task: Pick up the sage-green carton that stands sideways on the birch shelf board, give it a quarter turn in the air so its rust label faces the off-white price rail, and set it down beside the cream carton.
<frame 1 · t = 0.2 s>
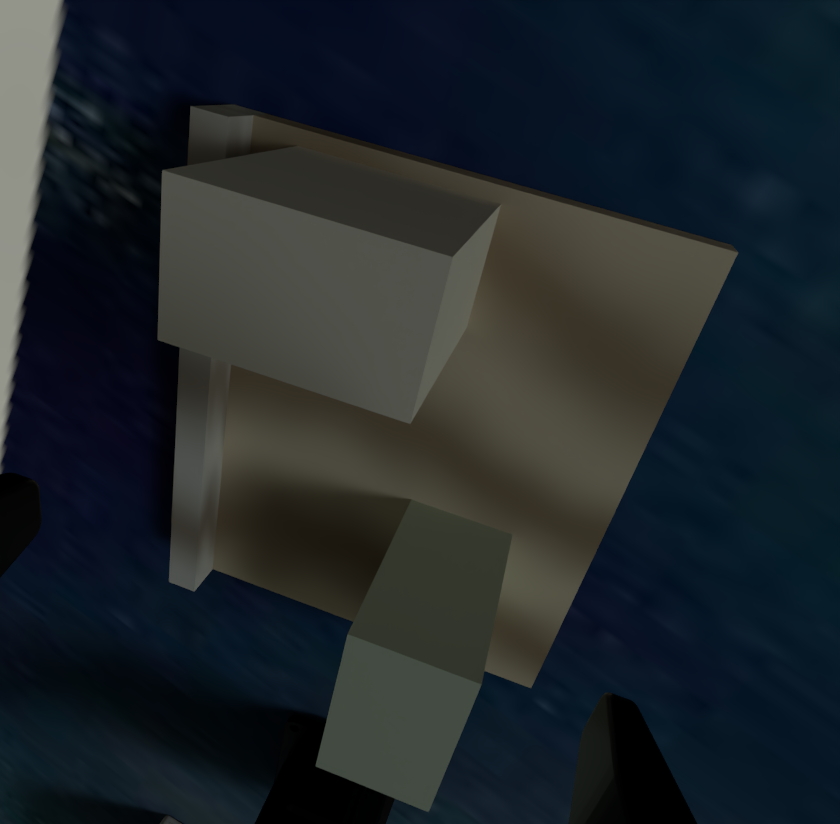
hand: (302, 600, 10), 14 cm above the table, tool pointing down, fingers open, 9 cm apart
shelf: (406, 429, 24), on the table
sage carton: (441, 579, 26), point 1 cm above the table, touching shelf
cream carton: (384, 239, 20), point 1 cm above the table, touching shelf
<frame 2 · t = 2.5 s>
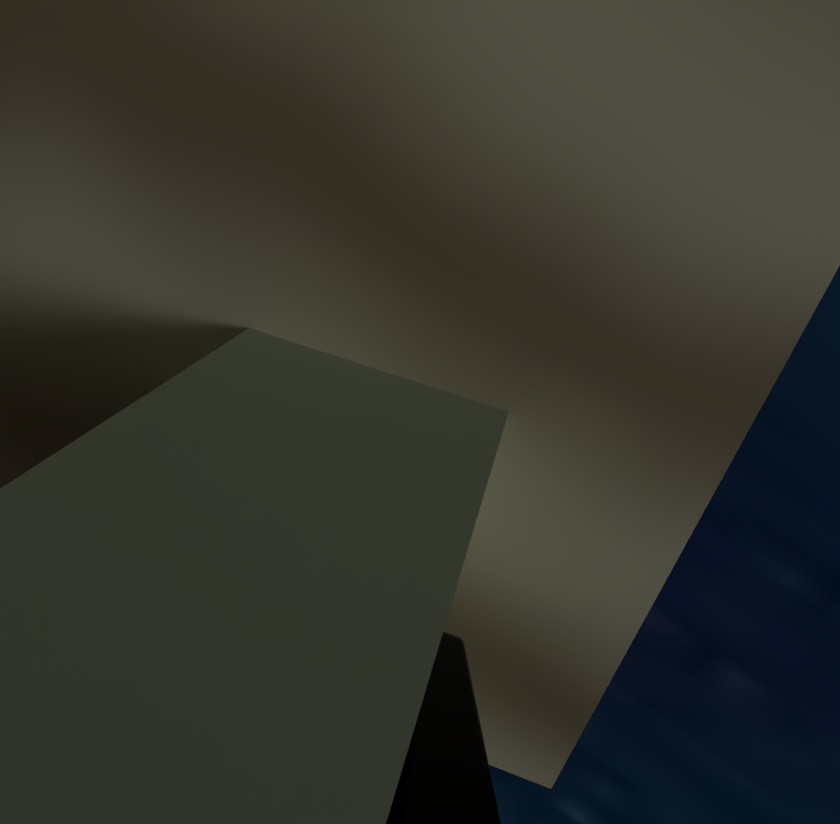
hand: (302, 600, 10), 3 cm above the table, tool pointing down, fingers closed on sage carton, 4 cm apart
shelf: (234, 147, 9), on the table
sage carton: (339, 539, 11), point 1 cm above the table, touching gripper, shelf
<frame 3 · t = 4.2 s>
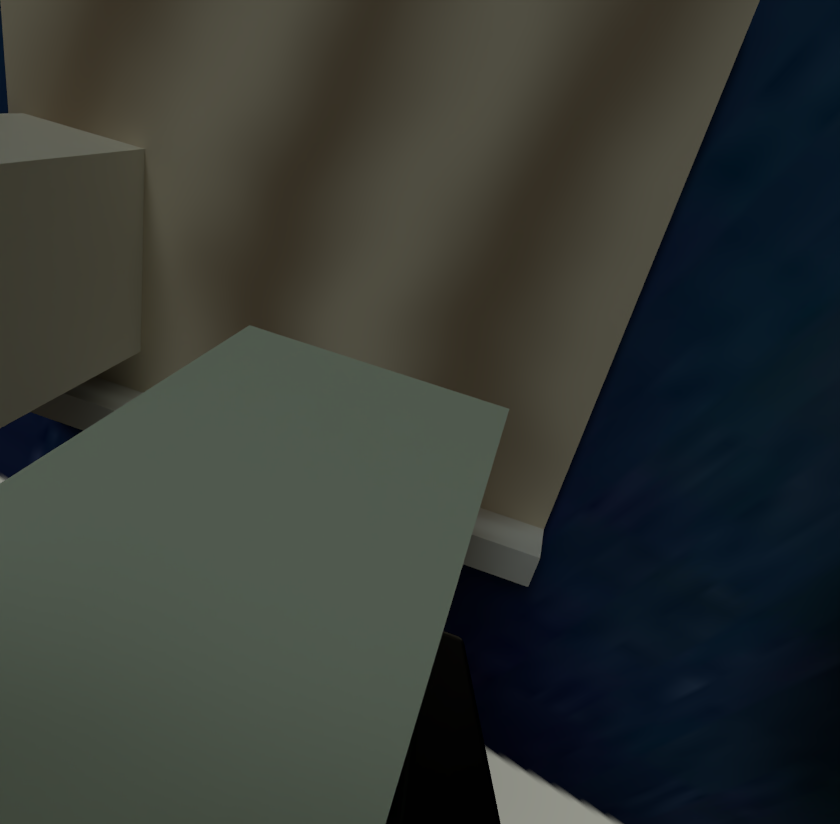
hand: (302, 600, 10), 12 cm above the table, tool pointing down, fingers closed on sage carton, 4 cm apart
shelf: (312, 233, 19), on the table
sage carton: (339, 537, 11), point 10 cm above the table, touching gripper
cream carton: (85, 239, 20), point 1 cm above the table, touching shelf
when the fingers open (4 cm above the table, at t = 5.9 s): sage carton drops 1 cm, resting on shelf.
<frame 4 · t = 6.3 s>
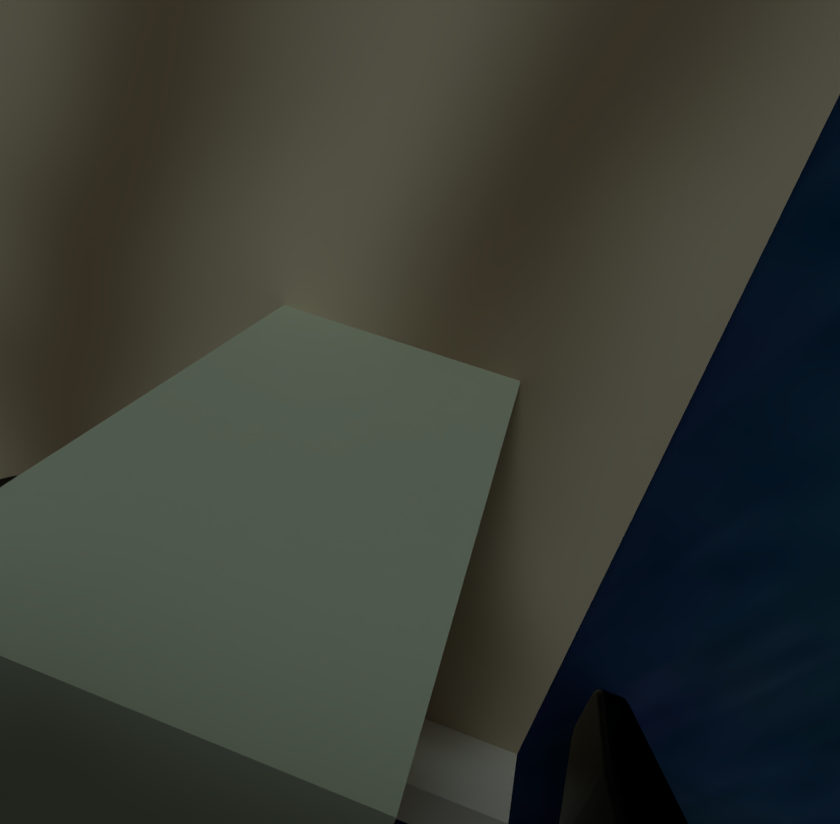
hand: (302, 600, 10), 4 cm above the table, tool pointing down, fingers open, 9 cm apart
shelf: (149, 308, 12), on the table
sage carton: (361, 502, 12), point 1 cm above the table, touching shelf
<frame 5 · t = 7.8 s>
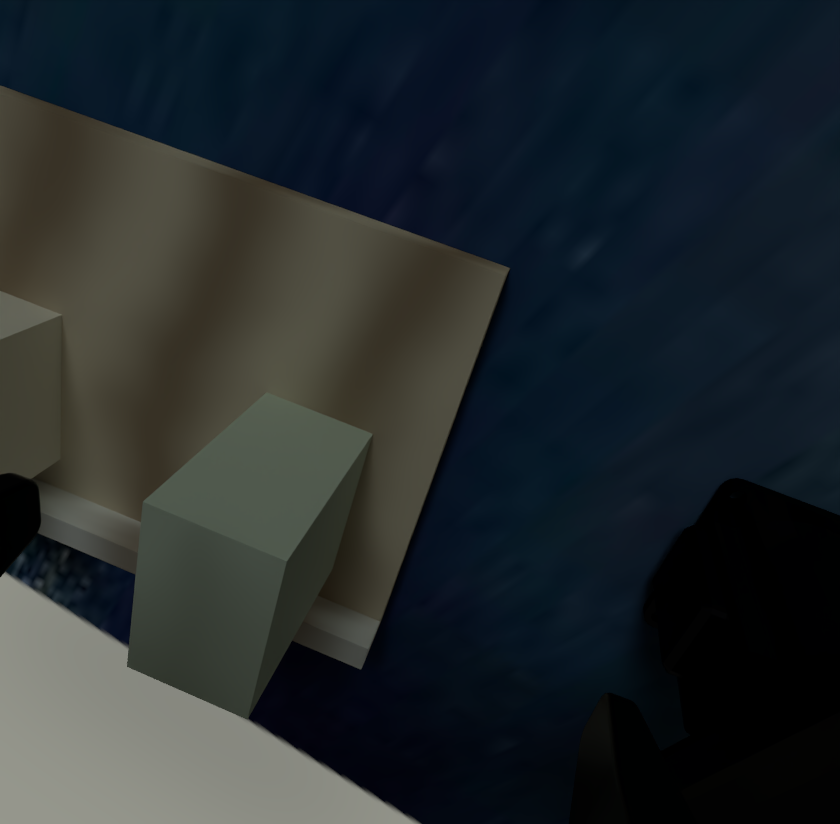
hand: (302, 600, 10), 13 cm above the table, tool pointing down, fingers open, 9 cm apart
shelf: (198, 382, 24), on the table
sage carton: (301, 486, 24), point 1 cm above the table, touching shelf
cream carton: (15, 373, 25), point 1 cm above the table, touching shelf
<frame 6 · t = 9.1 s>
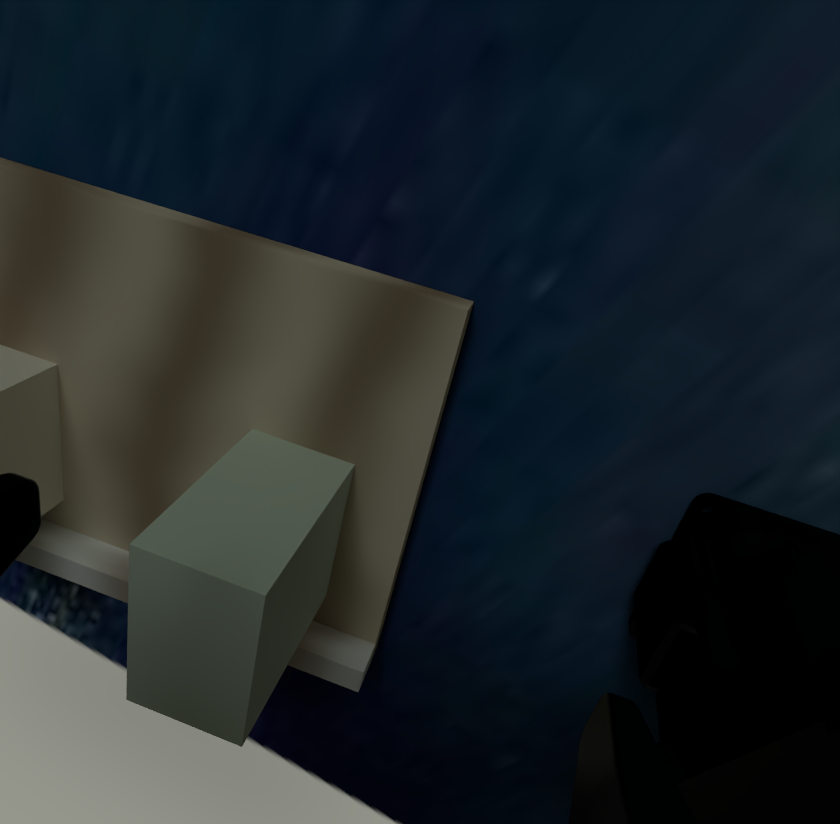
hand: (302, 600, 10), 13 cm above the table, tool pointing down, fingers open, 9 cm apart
shelf: (189, 421, 25), on the table
sage carton: (291, 516, 25), point 1 cm above the table, touching shelf
cream carton: (17, 420, 26), point 1 cm above the table, touching shelf
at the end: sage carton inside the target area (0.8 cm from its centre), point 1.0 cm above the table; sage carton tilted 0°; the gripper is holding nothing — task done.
